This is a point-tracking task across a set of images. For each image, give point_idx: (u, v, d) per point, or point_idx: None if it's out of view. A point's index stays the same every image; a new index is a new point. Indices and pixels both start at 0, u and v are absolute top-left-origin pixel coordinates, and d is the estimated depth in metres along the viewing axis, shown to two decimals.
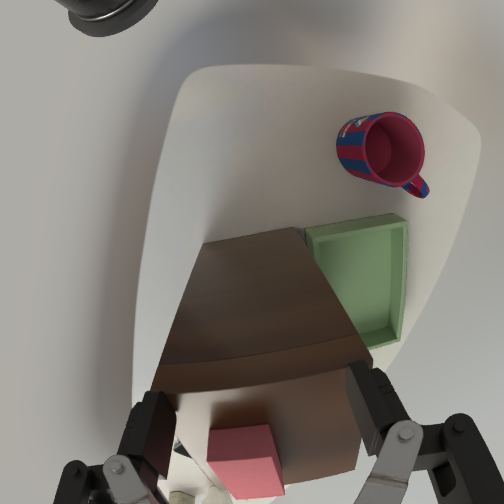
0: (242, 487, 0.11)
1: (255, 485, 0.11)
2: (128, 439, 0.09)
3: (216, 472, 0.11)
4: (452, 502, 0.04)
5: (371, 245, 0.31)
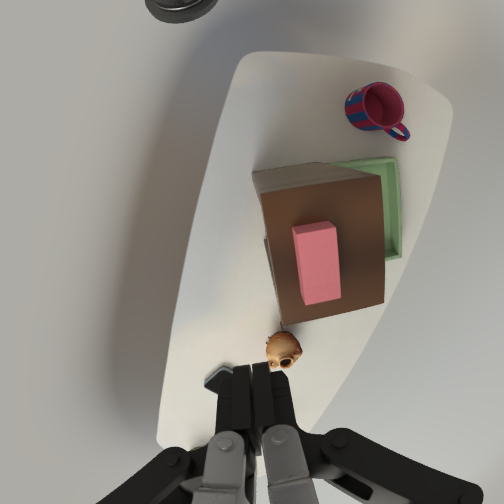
0: (313, 279, 0.22)
1: (323, 273, 0.22)
2: (224, 416, 0.09)
3: (300, 250, 0.21)
4: (381, 502, 0.05)
5: None
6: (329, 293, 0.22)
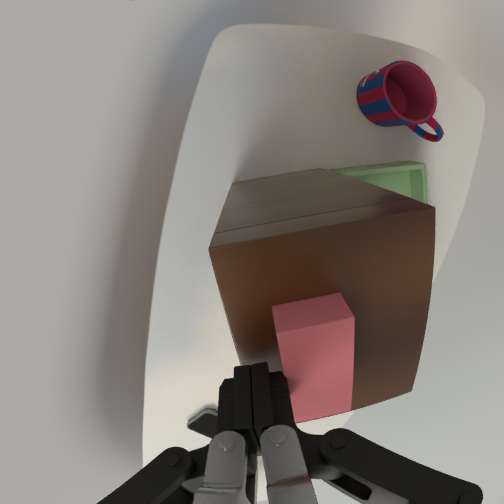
0: (307, 393, 0.11)
1: (324, 385, 0.11)
2: (225, 416, 0.09)
3: (284, 358, 0.11)
4: (380, 502, 0.05)
5: (392, 190, 0.31)
6: (332, 407, 0.12)
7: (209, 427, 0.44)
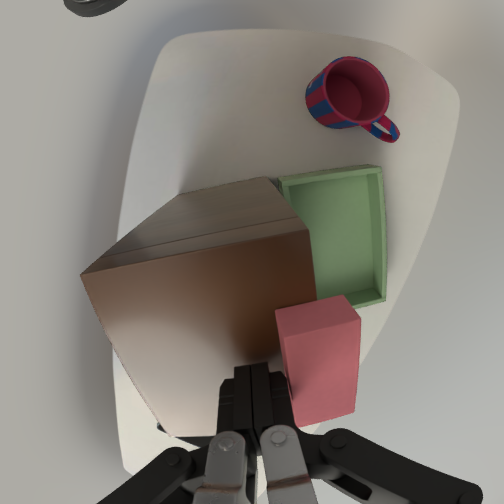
0: (312, 397, 0.11)
1: (329, 388, 0.11)
2: (225, 416, 0.09)
3: (290, 363, 0.10)
4: (380, 501, 0.05)
5: (347, 196, 0.31)
6: (336, 410, 0.12)
7: None
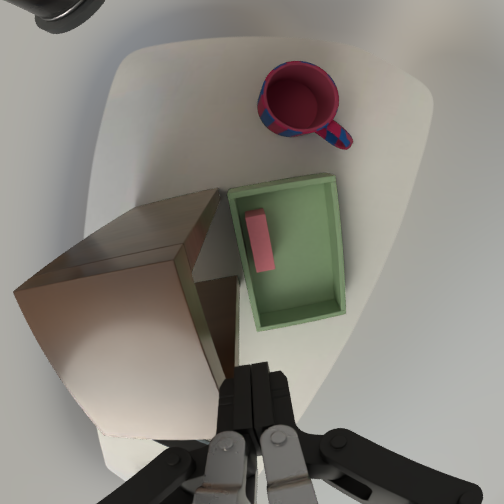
0: None
1: None
2: (225, 416, 0.09)
3: None
4: (380, 501, 0.05)
5: (302, 206, 0.31)
6: None
7: None
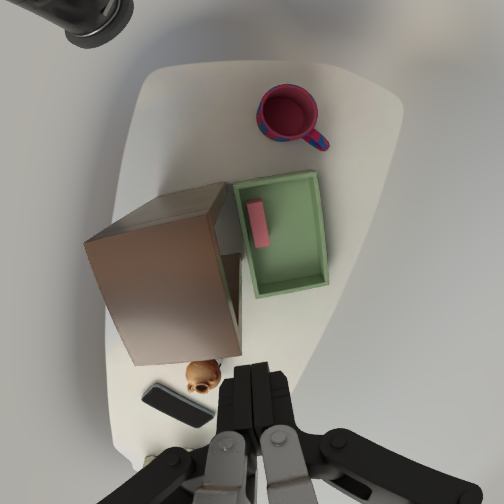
0: None
1: None
2: (225, 416, 0.09)
3: None
4: (380, 501, 0.05)
5: (292, 196, 0.39)
6: None
7: (159, 401, 0.52)
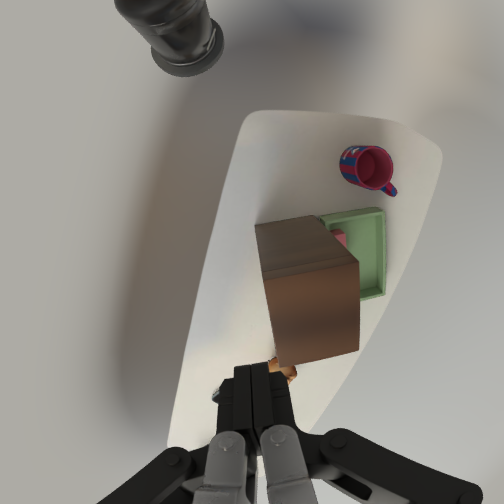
0: None
1: None
2: (225, 416, 0.09)
3: None
4: (380, 501, 0.05)
5: (362, 227, 0.48)
6: None
7: None
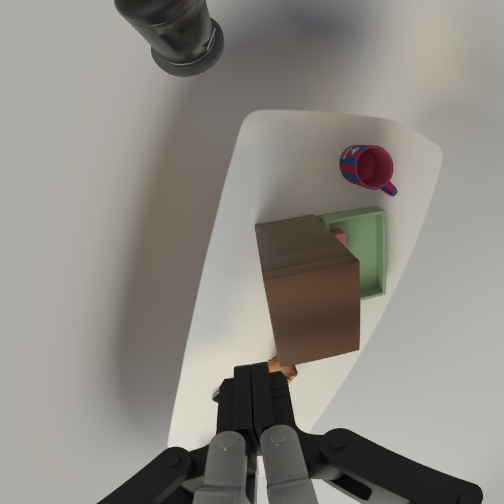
0: None
1: None
2: (225, 416, 0.09)
3: None
4: (380, 502, 0.05)
5: (362, 227, 0.48)
6: None
7: None
